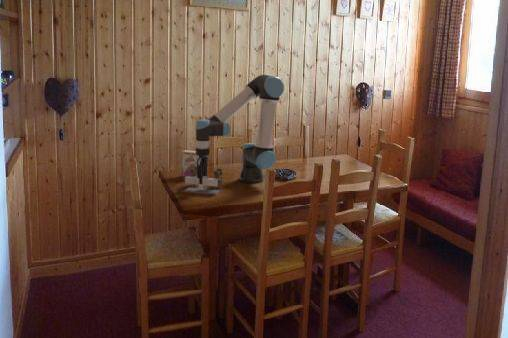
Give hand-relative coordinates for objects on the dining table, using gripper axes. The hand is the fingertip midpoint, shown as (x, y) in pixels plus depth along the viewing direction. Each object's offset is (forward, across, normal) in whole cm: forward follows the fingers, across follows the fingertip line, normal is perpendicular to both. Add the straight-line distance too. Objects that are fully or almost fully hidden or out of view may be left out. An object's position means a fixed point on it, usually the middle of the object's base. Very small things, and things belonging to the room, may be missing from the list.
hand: (202, 188), depth 285 cm
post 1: (+2, -11, -8) cm, 14 cm away
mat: (+2, 0, 0) cm, 2 cm away
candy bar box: (+2, -28, -16) cm, 32 cm away
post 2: (+2, -11, +6) cm, 13 cm away
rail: (-2, 0, 0) cm, 2 cm away
